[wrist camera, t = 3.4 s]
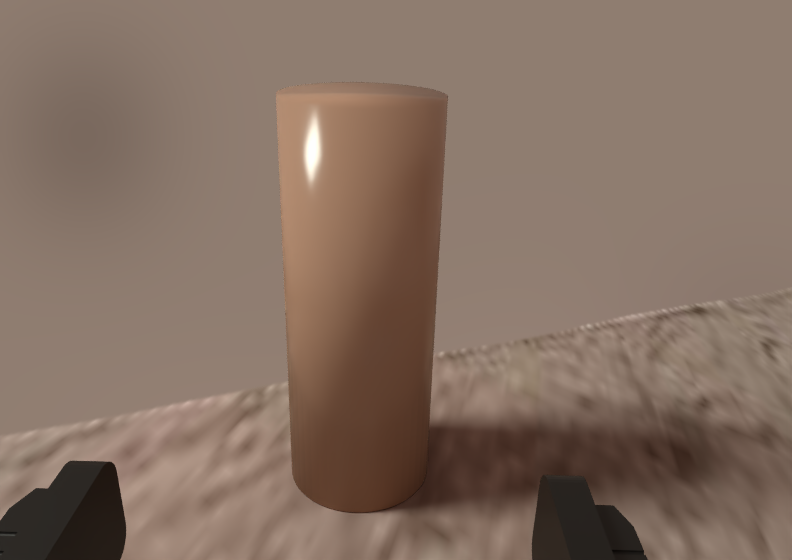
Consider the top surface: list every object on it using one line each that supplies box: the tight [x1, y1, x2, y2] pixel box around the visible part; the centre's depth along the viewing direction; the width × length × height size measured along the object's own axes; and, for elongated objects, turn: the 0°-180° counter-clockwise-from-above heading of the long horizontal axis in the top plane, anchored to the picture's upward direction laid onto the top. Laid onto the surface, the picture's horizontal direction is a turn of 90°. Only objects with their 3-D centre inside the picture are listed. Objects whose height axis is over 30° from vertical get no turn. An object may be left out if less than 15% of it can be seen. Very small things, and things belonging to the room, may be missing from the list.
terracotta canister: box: [276, 82, 448, 513], centre depth 23 cm, size 5×5×14 cm
